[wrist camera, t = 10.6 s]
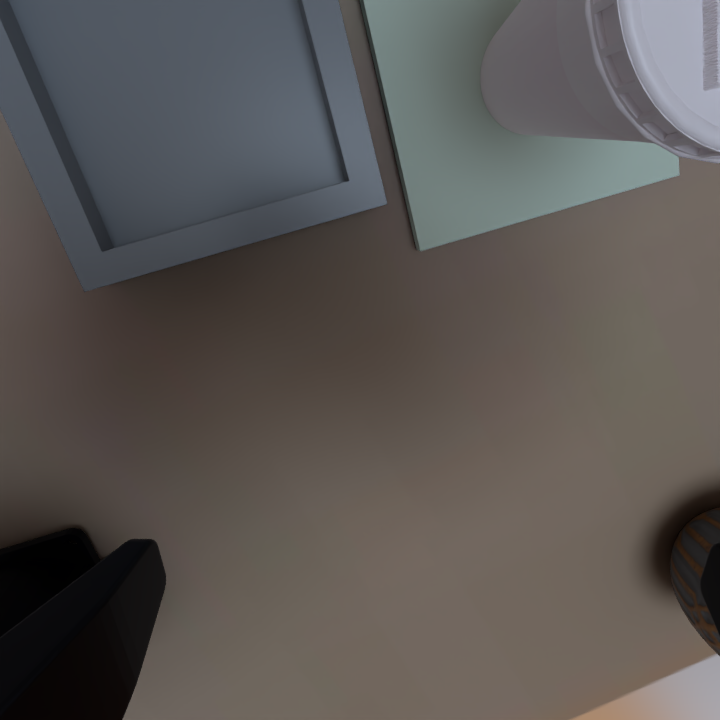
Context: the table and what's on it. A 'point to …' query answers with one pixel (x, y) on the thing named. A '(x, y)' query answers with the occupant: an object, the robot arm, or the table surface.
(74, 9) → the tray
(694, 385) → the table surface
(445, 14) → the mat
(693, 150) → the smoothie
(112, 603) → the robot arm
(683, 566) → the vase
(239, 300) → the table surface
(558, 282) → the table surface
